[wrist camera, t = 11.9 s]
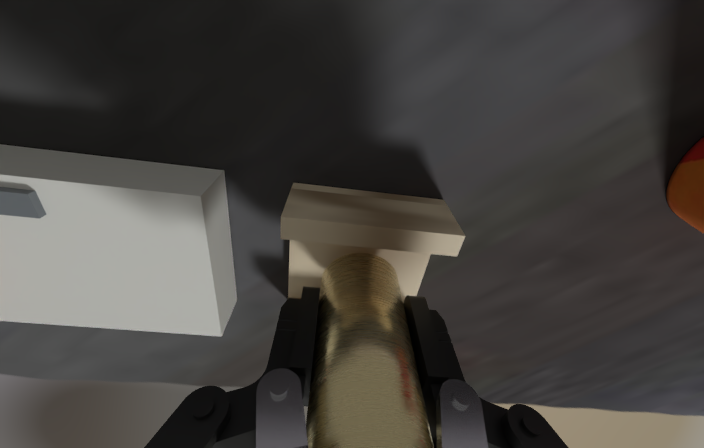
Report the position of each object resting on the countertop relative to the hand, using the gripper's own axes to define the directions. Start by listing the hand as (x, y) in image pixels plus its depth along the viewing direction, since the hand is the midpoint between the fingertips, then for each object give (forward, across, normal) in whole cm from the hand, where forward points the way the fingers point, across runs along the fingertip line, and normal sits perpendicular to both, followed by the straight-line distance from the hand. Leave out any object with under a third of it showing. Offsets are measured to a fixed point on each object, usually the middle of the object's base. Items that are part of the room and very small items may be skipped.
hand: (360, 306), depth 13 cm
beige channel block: (+4, 0, 0) cm, 4 cm away
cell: (+2, 0, 0) cm, 2 cm away
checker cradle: (+4, +14, 0) cm, 14 cm away
